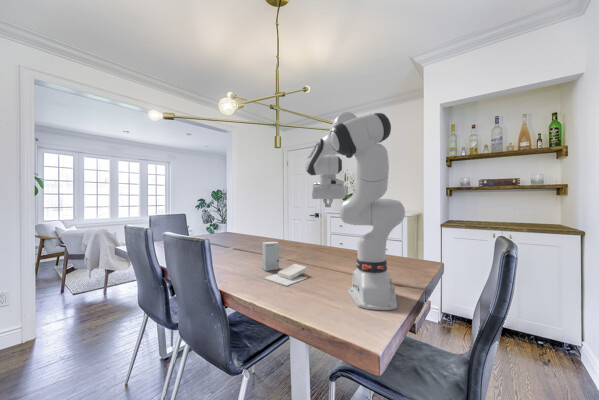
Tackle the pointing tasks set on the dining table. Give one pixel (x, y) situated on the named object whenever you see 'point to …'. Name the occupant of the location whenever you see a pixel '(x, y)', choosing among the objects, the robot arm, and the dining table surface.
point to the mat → (284, 279)
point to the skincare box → (270, 256)
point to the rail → (304, 275)
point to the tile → (292, 271)
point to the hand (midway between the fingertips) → (328, 207)
